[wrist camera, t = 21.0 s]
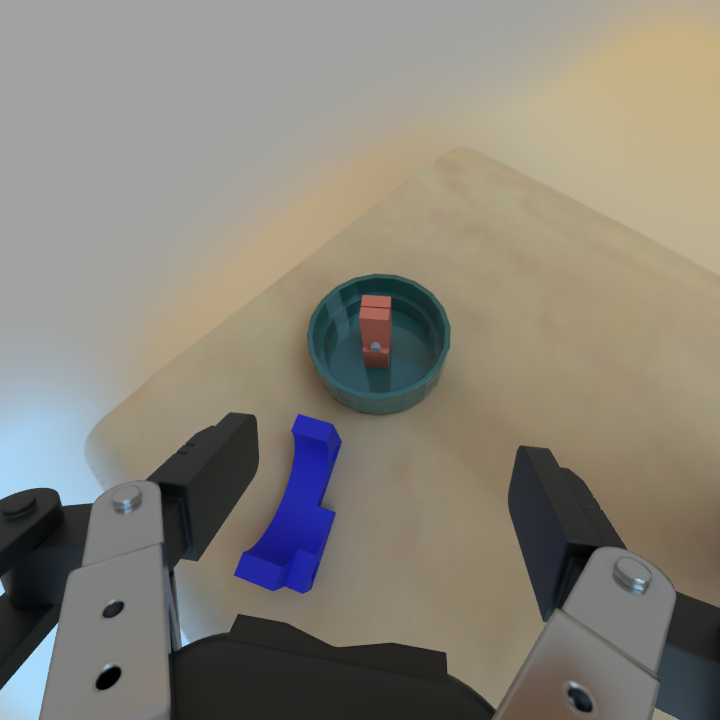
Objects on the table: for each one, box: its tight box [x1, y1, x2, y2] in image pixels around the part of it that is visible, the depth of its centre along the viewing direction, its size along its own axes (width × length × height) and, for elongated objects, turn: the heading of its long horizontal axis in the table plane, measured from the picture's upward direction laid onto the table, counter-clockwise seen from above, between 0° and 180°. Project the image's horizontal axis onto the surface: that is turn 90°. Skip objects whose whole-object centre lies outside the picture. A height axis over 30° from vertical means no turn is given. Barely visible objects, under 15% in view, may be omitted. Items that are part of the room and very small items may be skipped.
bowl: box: [307, 274, 450, 414], centre depth 37 cm, size 13×13×5 cm
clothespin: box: [359, 295, 392, 369], centre depth 35 cm, size 2×3×8 cm
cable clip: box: [234, 414, 342, 594], centre depth 30 cm, size 12×4×6 cm, turn 162°
